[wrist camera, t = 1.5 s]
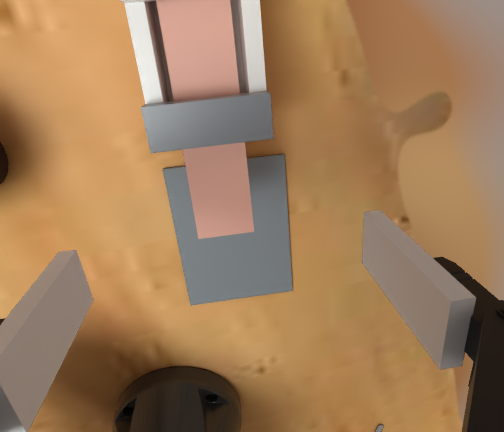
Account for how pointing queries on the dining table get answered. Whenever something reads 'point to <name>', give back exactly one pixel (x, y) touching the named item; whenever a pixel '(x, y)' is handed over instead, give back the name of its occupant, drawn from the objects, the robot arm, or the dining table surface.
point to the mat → (236, 239)
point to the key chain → (379, 428)
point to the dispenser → (210, 108)
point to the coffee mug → (3, 164)
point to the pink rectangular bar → (201, 86)
